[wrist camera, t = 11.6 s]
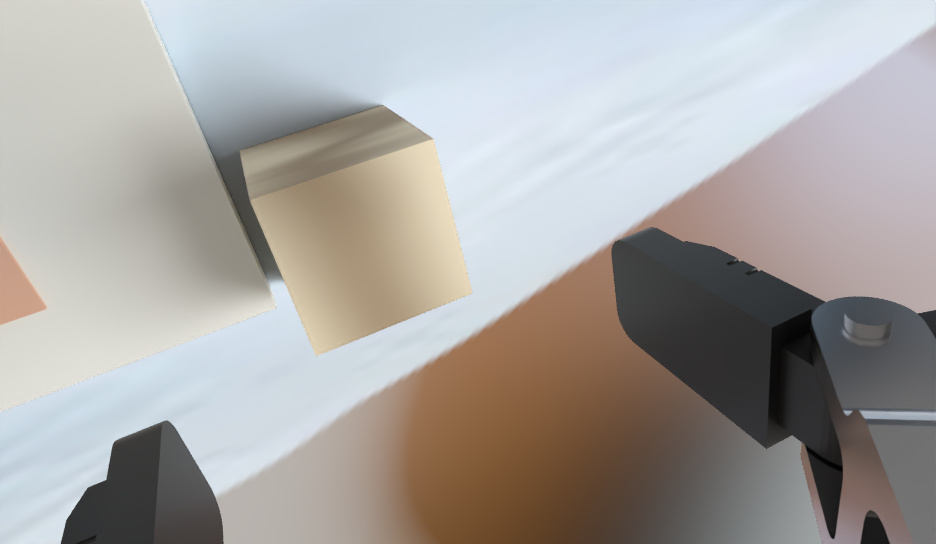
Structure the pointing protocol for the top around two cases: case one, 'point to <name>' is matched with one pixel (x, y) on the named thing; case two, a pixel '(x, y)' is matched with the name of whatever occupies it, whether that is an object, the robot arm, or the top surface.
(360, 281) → the maple block
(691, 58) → the top surface
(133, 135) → the board
